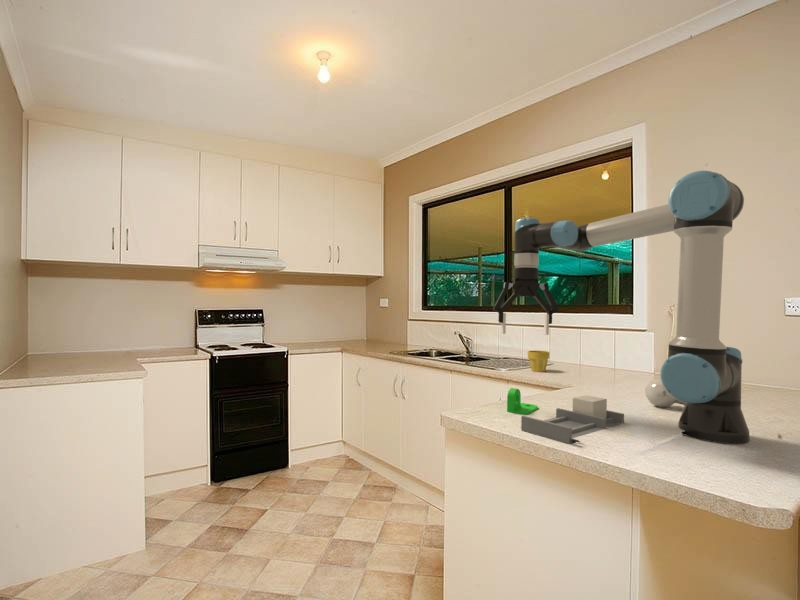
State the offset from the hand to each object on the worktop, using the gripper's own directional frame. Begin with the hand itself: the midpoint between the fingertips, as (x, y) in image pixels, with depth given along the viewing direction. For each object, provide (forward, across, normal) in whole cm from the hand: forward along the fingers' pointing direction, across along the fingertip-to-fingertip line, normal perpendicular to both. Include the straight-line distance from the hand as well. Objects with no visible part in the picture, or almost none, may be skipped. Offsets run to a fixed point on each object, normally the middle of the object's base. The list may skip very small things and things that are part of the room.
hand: (524, 334), depth 146 cm
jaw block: (+22, -14, +19) cm, 32 cm away
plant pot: (+24, -27, -82) cm, 89 cm away
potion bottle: (+24, -49, -4) cm, 55 cm away
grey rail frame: (+23, -8, +24) cm, 34 cm away
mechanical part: (+24, +2, +8) cm, 25 cm away
